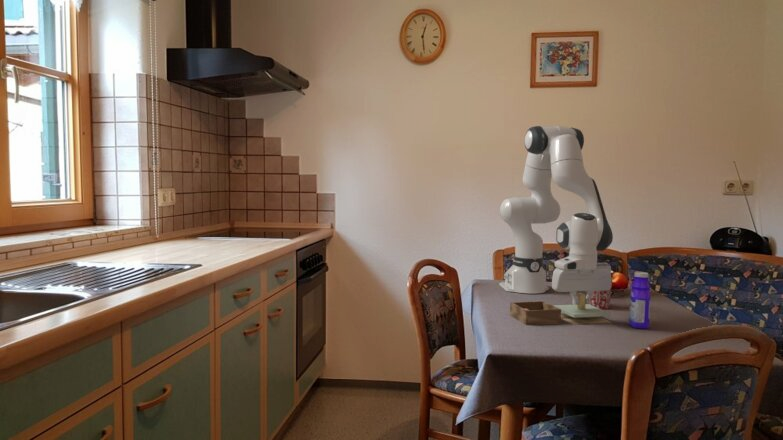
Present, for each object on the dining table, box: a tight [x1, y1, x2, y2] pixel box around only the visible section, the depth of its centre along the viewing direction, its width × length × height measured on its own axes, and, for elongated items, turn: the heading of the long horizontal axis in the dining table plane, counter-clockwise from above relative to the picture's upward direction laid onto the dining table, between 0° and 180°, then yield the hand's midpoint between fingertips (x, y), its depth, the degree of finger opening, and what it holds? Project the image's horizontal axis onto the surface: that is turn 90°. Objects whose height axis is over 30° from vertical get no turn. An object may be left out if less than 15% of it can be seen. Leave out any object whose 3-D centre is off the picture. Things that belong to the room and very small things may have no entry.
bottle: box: [628, 271, 652, 329], centre depth 176 cm, size 7×6×17 cm
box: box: [509, 300, 562, 326], centre depth 182 cm, size 12×12×5 cm
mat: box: [561, 312, 613, 325], centre depth 185 cm, size 14×14×1 cm
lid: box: [552, 292, 611, 318], centre depth 184 cm, size 13×13×6 cm
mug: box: [589, 270, 615, 310], centre depth 205 cm, size 13×9×14 cm
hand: (581, 304), depth 184 cm, fingers closed on lid, 3 cm apart
